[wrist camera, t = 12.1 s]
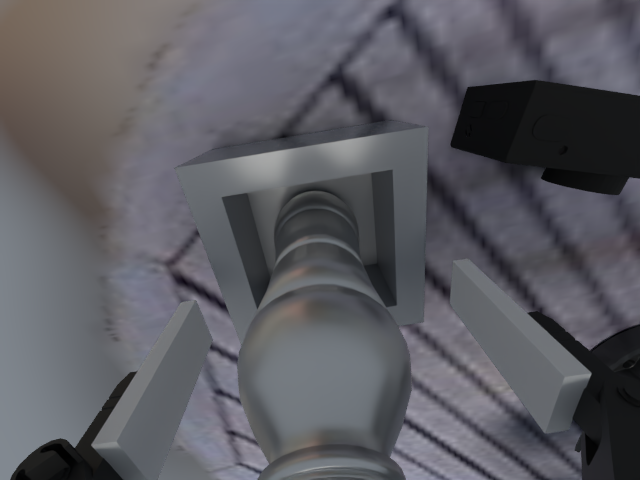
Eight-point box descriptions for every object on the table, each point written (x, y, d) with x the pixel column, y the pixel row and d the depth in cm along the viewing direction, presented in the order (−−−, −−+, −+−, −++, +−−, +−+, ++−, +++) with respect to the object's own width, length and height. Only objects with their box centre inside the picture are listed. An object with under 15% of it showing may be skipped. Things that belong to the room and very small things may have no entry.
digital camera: (443, 161, 23) (495, 182, 17) (465, 87, 21) (536, 79, 14) (556, 174, 24) (646, 199, 18) (590, 105, 22) (707, 105, 15)
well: (396, 272, 27) (423, 322, 21) (256, 294, 28) (243, 349, 21) (391, 120, 21) (428, 126, 15) (211, 149, 21) (174, 168, 15)
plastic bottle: (344, 174, 22) (516, 485, 4) (360, 248, 25) (501, 631, 7) (266, 195, 22) (81, 557, 4) (290, 265, 25) (242, 664, 7)
